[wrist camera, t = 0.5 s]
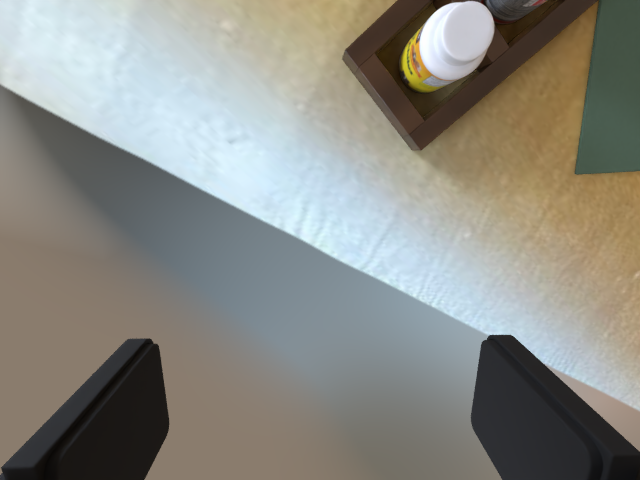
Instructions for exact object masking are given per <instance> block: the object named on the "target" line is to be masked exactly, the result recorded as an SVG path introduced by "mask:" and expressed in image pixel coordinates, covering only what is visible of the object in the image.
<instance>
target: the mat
mask: <svg viewBox="0 0 640 480" xmlns="http://www.w3.org/2000/svg"><path fill="white" fill-rule="evenodd" d="M630 171H640V0H599V5H598V12H597V19H596V27H595V34H594V41H593V48H592V55H591V62H590V69H589V77H588V84H587V91H586V98H585V105H584V112H583V119H582V126H581V134H580V141H579V148H578V155H577V162H576V169H575V174H594V173H612V172H630Z"/></svg>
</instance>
